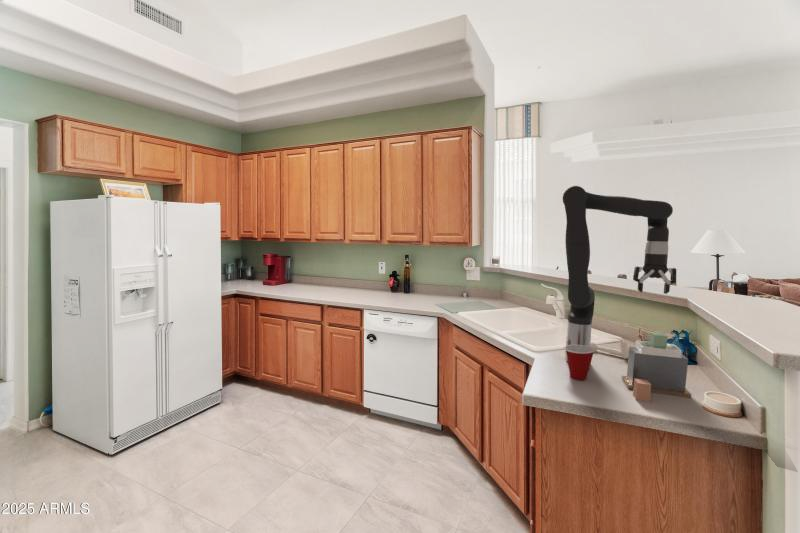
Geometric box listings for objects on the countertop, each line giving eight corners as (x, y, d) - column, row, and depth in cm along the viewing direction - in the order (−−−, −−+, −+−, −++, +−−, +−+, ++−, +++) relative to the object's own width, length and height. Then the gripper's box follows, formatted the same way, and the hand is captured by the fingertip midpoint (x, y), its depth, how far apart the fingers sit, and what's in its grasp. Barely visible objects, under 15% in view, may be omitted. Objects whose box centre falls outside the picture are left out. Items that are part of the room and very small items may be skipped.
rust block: (635, 400, 125) (637, 383, 125) (632, 395, 129) (634, 378, 129) (649, 402, 124) (651, 384, 124) (646, 397, 128) (647, 380, 127)
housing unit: (627, 388, 134) (631, 346, 132) (621, 378, 143) (624, 338, 142) (691, 397, 128) (695, 352, 126) (680, 386, 137) (684, 344, 136)
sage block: (652, 351, 133) (654, 334, 132) (649, 347, 137) (650, 332, 136) (665, 352, 132) (667, 336, 131) (662, 349, 135) (663, 333, 135)
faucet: (592, 358, 179) (586, 338, 180) (632, 356, 166) (626, 334, 167) (589, 360, 176) (583, 340, 177) (629, 358, 163) (623, 336, 165)
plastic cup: (565, 369, 152) (567, 341, 150) (595, 376, 145) (597, 346, 144) (559, 378, 143) (561, 348, 142) (590, 385, 137) (592, 354, 135)
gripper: (638, 252, 147) (635, 293, 149) (681, 253, 142) (677, 295, 144) (633, 251, 154) (630, 290, 156) (674, 252, 149) (670, 292, 151)
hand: (653, 292), depth 150 cm, fingers open, 8 cm apart
